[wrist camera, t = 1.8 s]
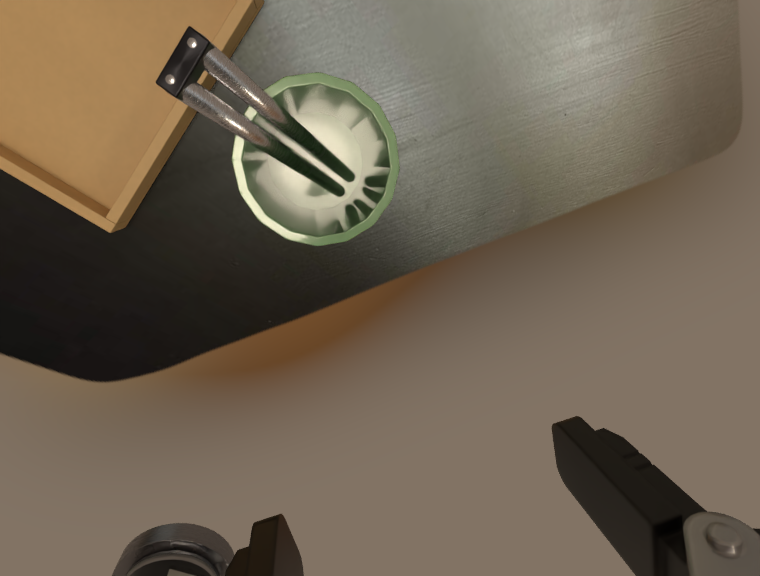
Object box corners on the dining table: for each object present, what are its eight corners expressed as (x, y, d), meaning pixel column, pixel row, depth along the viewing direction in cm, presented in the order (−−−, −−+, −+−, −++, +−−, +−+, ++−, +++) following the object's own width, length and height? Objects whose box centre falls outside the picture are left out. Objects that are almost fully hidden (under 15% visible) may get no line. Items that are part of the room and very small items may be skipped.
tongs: (340, 198, 34) (359, 232, 16) (246, 129, 31) (150, 81, 14) (357, 175, 33) (394, 183, 16) (263, 103, 31) (186, 20, 13)
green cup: (329, 233, 35) (338, 274, 23) (242, 173, 32) (199, 182, 20) (387, 152, 34) (430, 147, 21) (301, 83, 31) (294, 33, 19)
